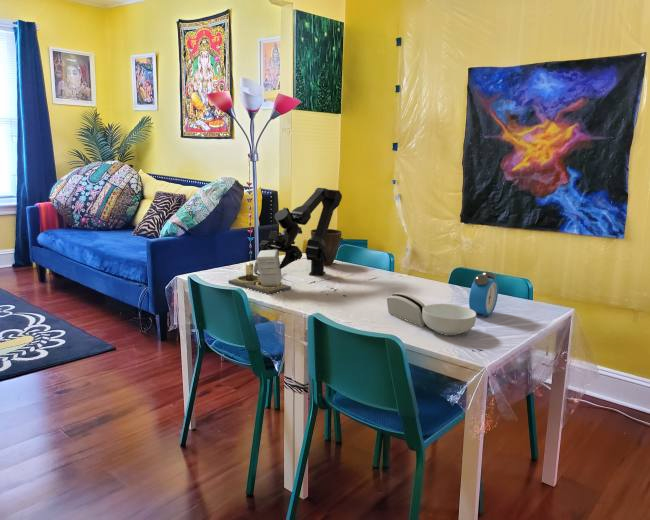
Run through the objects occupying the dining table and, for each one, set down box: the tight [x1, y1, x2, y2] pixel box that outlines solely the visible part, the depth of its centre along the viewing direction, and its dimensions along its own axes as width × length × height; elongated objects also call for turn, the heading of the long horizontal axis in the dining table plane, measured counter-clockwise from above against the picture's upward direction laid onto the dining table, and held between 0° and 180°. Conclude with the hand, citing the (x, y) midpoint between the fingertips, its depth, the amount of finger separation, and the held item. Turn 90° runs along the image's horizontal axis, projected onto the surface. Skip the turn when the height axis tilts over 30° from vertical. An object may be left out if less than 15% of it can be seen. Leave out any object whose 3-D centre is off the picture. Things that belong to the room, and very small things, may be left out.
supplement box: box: [256, 250, 283, 286], centre depth 219 cm, size 7×7×13 cm
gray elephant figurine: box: [253, 259, 259, 274], centre depth 246 cm, size 9×12×8 cm
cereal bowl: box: [422, 303, 477, 336], centre depth 177 cm, size 17×17×7 cm
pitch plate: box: [228, 262, 292, 295], centre depth 224 cm, size 24×12×8 cm, turn 50°
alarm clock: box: [468, 271, 499, 318], centre depth 196 cm, size 13×6×15 cm, turn 144°
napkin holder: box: [386, 292, 426, 327], centre depth 188 cm, size 17×5×10 cm, turn 36°
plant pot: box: [310, 228, 343, 266], centre depth 268 cm, size 15×15×16 cm
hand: (270, 266), depth 220 cm, fingers open, 9 cm apart
